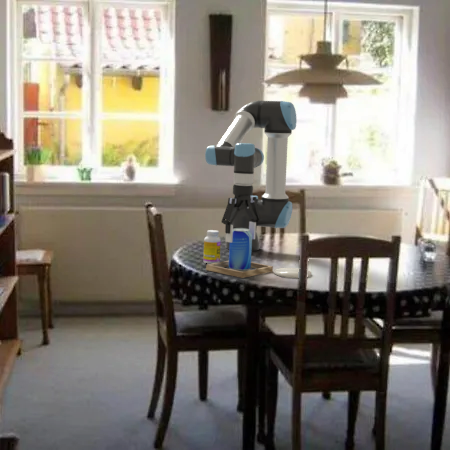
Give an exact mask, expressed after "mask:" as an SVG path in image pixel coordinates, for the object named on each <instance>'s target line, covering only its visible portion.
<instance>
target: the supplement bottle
mask: <svg viewBox="0 0 450 450" xmlns="http://www.w3.org/2000/svg"><path fill="white" fill-rule="evenodd" d="M221 243H222V241H221V237H219V230H215V229H214V230H213V229H210V230H209V229H208V230H207V231H206V236H205V237H204V239H203V257H202V258H203V259H202V261H203V263H204V264H206V263H207V264H206V265H208V264H213V263H219V262H221V246H222V245H221Z"/></svg>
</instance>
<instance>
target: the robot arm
mask: <svg viewBox="0 0 450 450" xmlns="http://www.w3.org/2000/svg"><path fill="white" fill-rule="evenodd" d="M296 127H297V112H296V108H295V105H294V104H293V103H292V102H289V101H284V100H254V101H251V102H249V103H247V104H245V105H243V106H242V107H240V108H239V109H238V110H237V111H236V112H235V114H234V116H233V119H232V123H231V124H230V125H229V127H228V128H227V129H226V131H225V133H224V134H223V135H222V137H221V138H220V140H219V141H218V142H217V144H216V145H209V146H207V147H206V150H205V153H204V157H205V163H206V164H207V165H209V166H210V165H211V166H216V167H217V166H222V167H233V181H232V183H233V185H232V194H233V196H234V197H233V198H232V197H228V199H227V205H226V208H225V211H224V213H223V216H222V219H221V224H223V225H225V228H224V233H225V241H224V242H225V249H227V250H229V247H230V243H232V238H233V229H234V228H246V229H250V233H251V234H252V250H251V252H255V251H259V250H260V246H261V244H260V240H259V237H258V232H257V228H258V227H262V228H263V227H264V228H274V229H284V228H286V227H288V225H289V224H290V220H291V218H292V213H293V203H292V201H290V199H289V196H288V194H286V187H287V186H286V185H287V184H286V183H287V166H288V162H287V161H288V142H289V137H290V136H291V135H292V133H293V132H292V131H294V130H296ZM257 128H258V129H264V132H263V133H264V134H265V135H266V137H267V141H266V142H267V145H266V146H267V148H266V173H265V192H264V193H263V194H261V199H259V196H258V195H253V193H254V186H253V184H254V180H255V179H254V177H255V174H254V173H255V172H254V171H255V170H254V169H256V168H258V167H259V166H261V165H262V164H263V163H264V159H265V155H264V153H263V151H262V150H261V149H260V148H259V147H258V148H257V147H255V144H254V143H248V142H246V143H245V142H243V140H244V139H245V137H246V135H247V134H248V133H249V132H250V131H252V130H253V129H257Z"/></svg>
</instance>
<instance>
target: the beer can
mask: <svg viewBox="0 0 450 450" xmlns="http://www.w3.org/2000/svg"><path fill="white" fill-rule="evenodd" d="M228 250H229V252H228V253H229V254H228V261H229V266H228V269H232V270H236V271H241V272H244V271H249V270H251V269H252V268H251V262H252V251H251V250H252V234H251V233H250V229H246V228H234V229H233V238H232V243H230V247H229V249H228Z"/></svg>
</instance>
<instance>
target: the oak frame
mask: <svg viewBox="0 0 450 450" xmlns="http://www.w3.org/2000/svg"><path fill="white" fill-rule="evenodd" d="M205 270H206V271H209V272H215V273H218V274H223V275H227V276H232V277H236V278H241V279H243V278H249V277H254V276H257V275H262V274H266V273H267V274H268V273H272V272H273V273H274V266H272V265H267V264H263V263H257V262H254V261H251V268H250V269H249V271H244V272H241V271H236V270H232V269H230V268H229V260H226V261H225V260H224V261H220V262H219V263H213V264H206V268H205Z"/></svg>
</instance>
